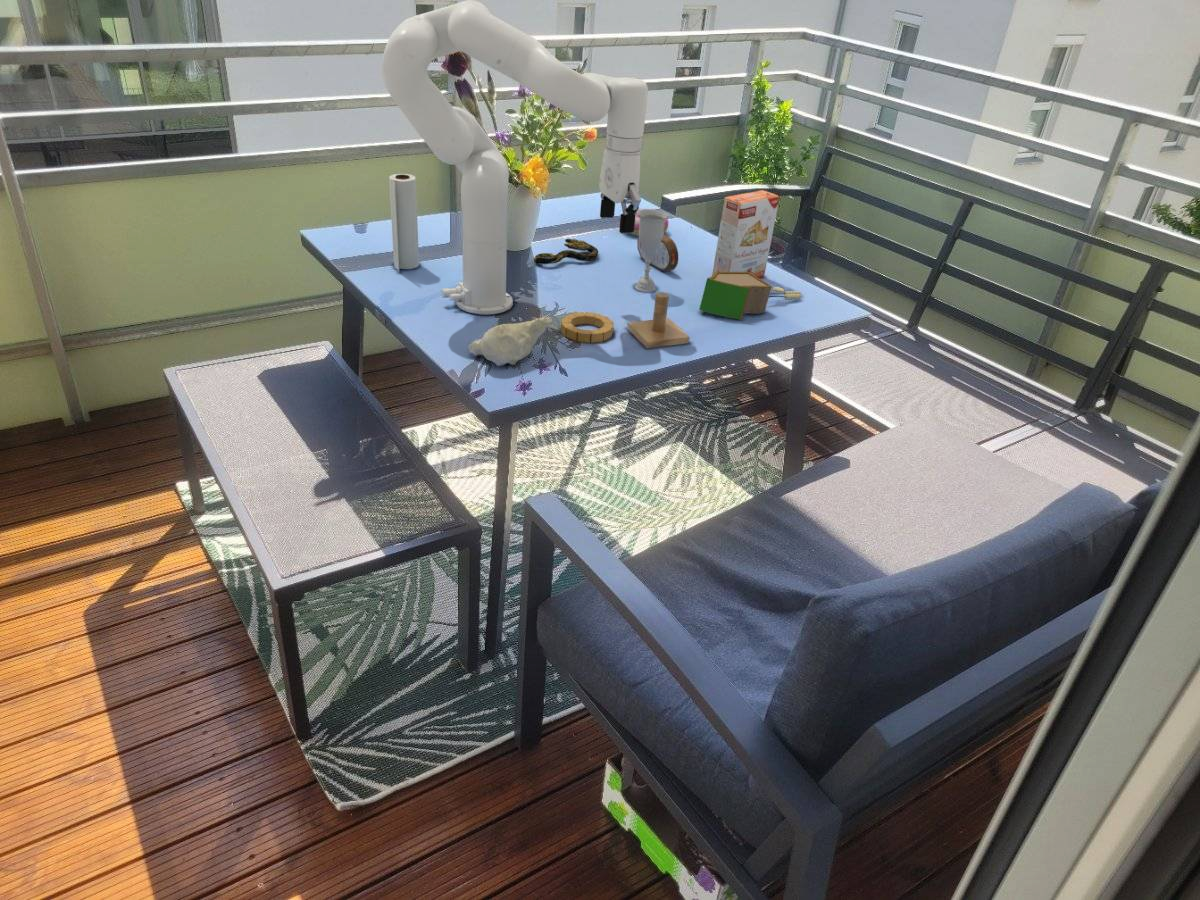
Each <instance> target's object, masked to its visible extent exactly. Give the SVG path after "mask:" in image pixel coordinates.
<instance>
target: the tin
mask: <svg viewBox="0 0 1200 900" xmlns="http://www.w3.org/2000/svg"><path fill="white" fill-rule="evenodd" d="M636 241H637V243H636V244H637V251H638V254H639V255H640V257H641V259H642V260H643V261H645V260H646V257H647V253H645V252H644V251H643V249H642V246H641V243H640V239H639V234H638V236H637V240H636ZM650 258H651V263H650V266H653V267H654V268H656V269H657V270H659V271H661V272H668V271H673V270H675V269H676V268H677V266H678V263H679V250H678V247H677V245H676V243H675V241H674V240H673V239H672V238H671V237H670V236H668V235H666V234H665V233H664V234H663V238H662V240H661V243H660V244H659V246H658V248H657V249H656V251H655V252H654V253H652V254H651V256H650Z"/></svg>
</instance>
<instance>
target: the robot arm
mask: <svg viewBox="0 0 1200 900" xmlns="http://www.w3.org/2000/svg"><path fill="white" fill-rule="evenodd" d="M459 52H462V53H464V54H465V55H467V56H468V57H471V58H472V59H475V60H476V61H478V62H480V63H483V64H484V65H485V66H487V67H489V68H491V69H493V70H495V71H497V72H499V73H501V74H503V75H504V76H506V77H508V78H510V79H512V80H514V81H515V82H517V83H519V84H520V85H521V86H522V87H523V88H525V89H527V90H528V91H530V92H532V93H533V94H535V95H537V96H538V97H539V98H541V99H543V100H544V101H546V102H547V103H549V104H551V105H552V106H553V107H556V108H558V109H559V110H561V111H563V112H565V113H567V114H569V115H571V116H572V117H574V118H577V119H578V120H581V121H584V122H588V123H595V122H599V121H600V120H602V119H603V118H605V117H606V115H607V123H606V134H605V145H604V146H605V147H604V151H603V156H602V160H601V167H600V174H599V182H598V183H599V184H598V189H599V191H600V198H601V199H600V211H599V217H600V218H601V219H609V218H614V217H615V212H616V211H615V209H616V204H620V207H621V211H622V213H620V217H621V218H620V217H619V233H620V234H629V233H632V232H634V225H635V216H636V214H637V210H638V209H640V204H641V202H642V198H641V195H640V194H639V192H640V178H641V176H640V175H641V154H642V151H643V150H642V149H643V143H644V142H643V141H644V131H645V123H646V113H647V102H648V92H649V88H648V84H647V83H646V81H644V80H643V79H640V78H635V77H625V76H624V77H622V76H621V77H614V76H609V75H605V74H600V73H597V72H584V73H580V72H578V71H576V70H574V69H573V68H571V67H569V66H568V65H566V64H564V63H563V62H562V61H560V60H559V59H558V58H556V57H555V55H553V54H552V53H551V52H550V51H549V50H548V49H547V48H546V47H545V46H544V45H543V44H542V43H541V42H540V41H539V40H537V39H536V38H534V37H533V36H531V35H529V34H527V33H525V32H524V31H522V30H520V29H519V28H516V27H514V26H513V25H511V24H509V23H508V22H506V21H503V20H502V19H500V18H499V17H497V16H495V15H493V14H492V13H491V11H490V10H489V9H488V7H486V5H484V4H483V3H482V2H480V1H478V0H463V1H460V2H457V3H454V4H451V5H448V6H445V7H440V8H437V9H434V10H431V11H430V10H429V11H427V12H423V13H420V14H416V15H414V16H411V17H408V18H406V19H404V20H403V21H402V22H401V23H400V24H399V25H398V26H397V27H396V28H395V29H394V30H393V32H392V33H391V34H390V36H389V38H388V40H387V42H386V45H385V48H384V50H383V53H382V58H381V75H382V79H383V83H384V86H385V88H386V90H387V92H388V94H389V96H390V97H391V98H392V100H393V101H394V103H395V104H396V106H397V107H398V108H399V109H400V111H401V112H402V113H403V115H404V116H405V117H406V119H407V120H408V121H409V123H410V124H411V125H412V127H413V128H414V129H415V131H416V132H417V133H418V134H419V136H420V137H421V138H422V139H423V141H424V142H425V144H426V145H427V146H428V148H429V149H430V151H431V152H432V153H433V154H434V156H435V157H436V158H437V159H438V160H440V161H441V162H442V163H444V164H447V165H451V166H454V165H455V167H456V168H457V169H458V170H459V172H460V173H461V174H462V176H461V182H460V201H461V202H460V205H461V238H462V239H461V240H462V241H461V242H462V244H461V245H462V248H461V249H462V281H459V282H458V285H457V286H456V285H455V287H453V288H449V287H447V288H441V289H440V294H441V298H443V299H444V298H449V299H450V301H455V304H456V307H457V308H459V309H460V310H462V311H464V312H466V313H470V314H474V315H486V316H488V315H498V314H502V313H505V312H507V311H509V310H510V309H511V308H512V307H513V305H514V301H513V297H512V296H511V295H510V294H509V293H507V256H508V253H507V252H508V201H509V181H510V169H509V165H508V162H507V160H506V159H505V157H504V155H503V154H502V153H501V151H500V149H498V147H497V145H495V143H494V142H493V141H492V139H491V137H490V136H489V135H488V134H487V132H486V131H485V130H484V129H483V127H482V126H481V124H480V123H479V122H478V120H477V119H476V118H475V117H474V116H473V115H472V114H471V113H470V112H469V111H467V110H466V109H464V108H462V107H460V106H454V105H451V103H450V102H449V101H448V99H447V98H446V96H445V95H444V94H443V92H442V91H441V90H440V89H439V88H438V86H437V85H436V84H435V83H434V82H433V81H432V79H431V78H430V76H429V74H428V68H429V66H430V64H431V63H432V61H433V60H436V59H438V58H441V57H444V56H449V55H452V54H455V53H459ZM627 205H628V206H627Z"/></svg>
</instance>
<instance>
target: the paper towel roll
mask: <svg viewBox="0 0 1200 900" xmlns="http://www.w3.org/2000/svg"><path fill="white" fill-rule="evenodd" d="M388 180H389V182H388V183H389V198H390V216H391V217H390V219H391V235H392V236H391V237H392V255H393V257H392V258H393V266H394V268H395V270H397V271H398V272H400V270H413V269H416V268H418V267H419V266H420V251H419V250H420V249H419V224H418V201H417V199H418V198H417V197H418V196H417V177H416V176H415V175H413V174H409V173H393V174H391V175H389V176H388Z"/></svg>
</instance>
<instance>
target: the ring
mask: <svg viewBox="0 0 1200 900" xmlns="http://www.w3.org/2000/svg"><path fill="white" fill-rule="evenodd" d="M579 325H591V326H595V327H597V328H598V329H583V328H579V327H577V326H579ZM614 325H615V323H614V322H613V320H612V319H611V318H609V316H606V315H603V314H600V313H596V312H588V311H580V312H572V313H569V314H567V315H565V316H563V317H562V319H561V322H560V332H561V333H562V335H563V336H564V337H566V338H567V339H570V340H572V341H576V342H580V343H589V344H592V343H593V344H595V343H601V342H605V341H607V340H609V339H611V338H612V337H613V333H614Z"/></svg>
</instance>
